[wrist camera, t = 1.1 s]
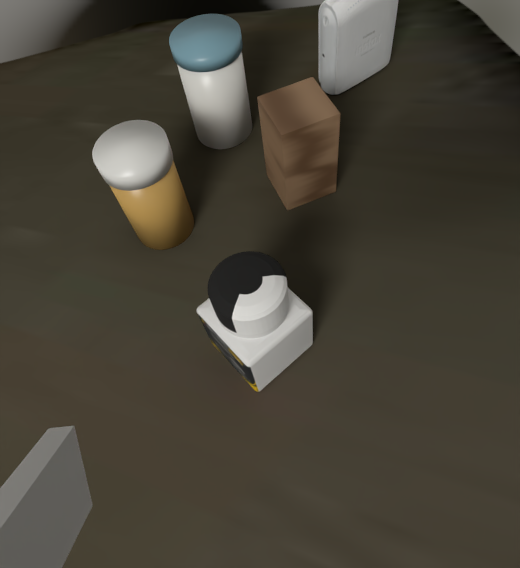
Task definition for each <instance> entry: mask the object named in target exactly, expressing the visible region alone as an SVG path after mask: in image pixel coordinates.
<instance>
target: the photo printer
mask: <svg viewBox="0 0 520 568" xmlns="http://www.w3.org/2000/svg"><path fill="white" fill-rule="evenodd" d="M397 7H398V0H324V2H323V3H322V4H321V6H320V8H319V82H320V83H321V88H322V89H323V91H325V92H326V93H328V94H331V95H335V94H336V95H337V94H340V93H342V92H344V91H346V90H348V89H350V88H351V87H353V86H355V85H357V84H358V83H360V82H362V81H363V80H365V79H367V78H368V77H370V76H372V75H373V74H375V73H376V72H378V71H380V70H381V69H383V68H384V67H385V66H386V65H387V64H388V63H389V61H390V56H391V49H392V43H393V36H394V29H395V22H396V14H397Z"/></svg>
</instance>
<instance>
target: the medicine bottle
mask: <svg viewBox="0 0 520 568" xmlns="http://www.w3.org/2000/svg"><path fill="white" fill-rule="evenodd" d="M208 295H209V299H208V300H206V301H205V302H204V303H203V304H201V305H200V306H199V307H198V308H197V313H198V315H199V317H200V319H201V321H202V323H203V326H204V328H205V330H206V332H207V334H208V336H209V338H210V340H211V342H212V343H213V345H214V346H215V347H216V348H217V349H218V350H219V351H220V352H221V353H222V354H223V356H224V357H225V358H226V359H227V360H228V361H229V362H230V363H231V364H232V366H233V367H234V368H235V369H236V370H237V371H238V372H239V373H240V374H241V375H242V377H243V378H244V379H245V380H246V381H247V382H248V383H249V384H250V385H251V387H252V388H253V389H254V390H255V391H261V390H262V389H263V388H264V387H265V386H266V385H267V384H268V383H270V382H271V381H272V380H273V379H274V378H275V377H276V376H277V375H279V374H280V373H281V372H282V371H283V370H284V369H285V368H286V367H288V366H289V365H290V364H291V363H292V362H293V361H294V360H295V359H297V358H298V357H299V356H300V355H301V354H302V353H303V352H304V351H306V350H307V349H308V348H309V347H310V346H311V345H312V344H313V312H312V310H311V308H310V307H309V306H307V305H306V304H305V303H304V302H303V301H302V300H301V299H300V298H299V297H298V296H297V295H295V294H294V293H293V292H292V291H291V290H290V289H289V288H288V287H287V278H286V274H285V272H284V270H283V268H282V267H281V265H280V264H279V263H278V262H277V261H276V260H275V259H273V258H272V257H270V256H268V255H266V254H263V253H260V252H241V253H237V254H234V255H232V256H229V257H227V258H226V259H224V260H223V261H222V262H220V263H219V264H218V265H217V266H216V268H215V269H214V270H213V272H212V274H211V276H210V279H209V282H208Z"/></svg>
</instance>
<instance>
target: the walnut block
mask: <svg viewBox="0 0 520 568" xmlns="http://www.w3.org/2000/svg"><path fill="white" fill-rule="evenodd" d="M257 100H258V108H259V115H260V123H261V131H262V139H263V147H264V155H265V163H266V171H267V175H268V177H269V179H270V181H271V182H272V184H273V186H274V188H275V189H276V191H277V193H278V195H279V196H280V198H281V200H282V202H283V204H284V205H285V207H286V209H287V210H290V209H293V208H295V207H298V206H300V205H303V204H305V203H308V202H311V201H313V200H316V199H318V198H321V197H323V196H326V195H329V194H331V193H334V192H336V182H337V164H338V146H339V129H340V112H339V111H338V110H337V108H336V107H335V106H334V104H333V103H332V102H331V100H330V99H329V98H328V96H327V95H326V94H325V92H324V91H323V90H322V89H321V87H320V86H319V85H318V83H317V82H316V81H315V79H314V78H313V77H311V78H308V79H305V80H303V81H300V82H297V83H294V84H292V85H289V86H286V87H283V88H280V89H278V90H275V91H272V92H269V93H266V94H264V95H261V96H258V97H257Z"/></svg>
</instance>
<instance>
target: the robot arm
mask: <svg viewBox="0 0 520 568" xmlns="http://www.w3.org/2000/svg"><path fill="white" fill-rule="evenodd" d="M92 506H93V505H92V501H91V497H90V492H89V488H88V483H87V479H86V475H85V470H84V466H83V462H82V457H81V453H80V449H79V444H78V440H77V436H76V431H75V427H74V426H67V427H58V428H49V429H48V430H47V431H46V432H45V434H44V435H43V436H42V437H41V439H40V440H39V441H38V442H37V444H36V445H35V446H34V447H33V449H32V450H31V451H30V452H29V453H28V455H27V456H26V457H25V458H24V460H23V461H22V462H21V463H20V465H19V466H18V467H17V468H16V470H15V471H14V472H13V473H12V475H11V476H10V477H9V478H8V479H7V481H6V482H5V483H4V484H3V486H2V487H1V488H0V568H62V567H63V565H64V562H65V560H66V558H67V556H68V554H69V552H70V550H71V548H72V546H73V544H74V542H75V540H76V538H77V536H78V534H79V532H80V530H81V528H82V526H83V524H84V522H85V520H86V518H87V516H88V514H89V512H90V510H91V508H92Z"/></svg>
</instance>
